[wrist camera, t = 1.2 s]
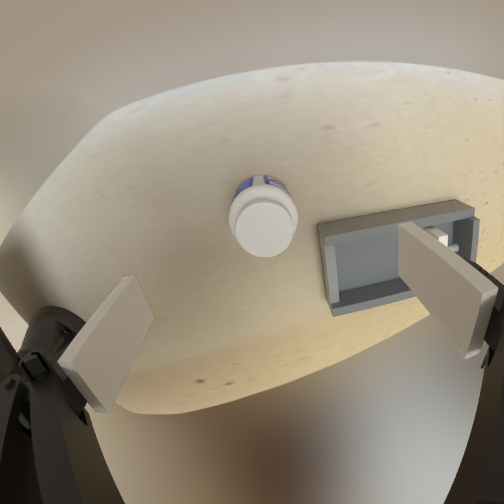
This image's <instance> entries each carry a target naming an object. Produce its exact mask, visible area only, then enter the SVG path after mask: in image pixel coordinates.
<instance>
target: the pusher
mask: <svg viewBox="0 0 504 504" xmlns="http://www.w3.org/2000/svg"><path fill="white" fill-rule="evenodd" d="M421 229H423V230H424V231H426V232H427V233H429V234H430V235H431V236H433V237H434V238H436V239H437V240H438V241H440V242H441V243H443V244H444V245H445V246H447V247H448V248H449V249H451V250H452V251H453V252H458V250H459V246H458V244H457V243H454V244H450V245H448V235H447V234H446V233H444V232H442V231H441V230H439V229H438V228H436V227H435V226H433V225H432V226H427V227H423V228H421Z"/></svg>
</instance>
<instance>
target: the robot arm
mask: <svg viewBox="0 0 504 504" xmlns="http://www.w3.org/2000/svg"><path fill="white" fill-rule="evenodd" d="M398 275H399V276H400V277H401V279H402V280H403V281H404V282H405V283H406V284H407V286H408V287H409V288H410V289H411V290H412V292H413V293H414V294H415V295H416V296H417V298H418V299H419V300H420V301H421V303H422V304H423V305H424V306H425V307H426V309H427V310H428V311H429V313H430V314H431V315H432V316H433V318H434V319H435V320H436V321H437V323H438V324H439V325H440V327H441V328H442V329H443V331H444V332H445V333H446V335H447V336H448V337H449V339H450V340H451V341H452V343H453V344H454V346H455V347H456V348H457V350H458V351H459V353H460V354H461V355H462V357H463V358H464V359H467V358H469V357H471V356H473V355H476V354H478V353H479V352H480V350H481V347H482V344H483V341H484V340H485V341H486V342H487V344H488V345H489V348H488V351H487V354H486V356H485V358H484V361H483V364H482V366H481V368H484V365H485V368H484V376H483V381H482V387H481V392H480V397H479V402H478V406H477V411H476V415H475V419H474V423H473V426H472V430H471V433H470V437H469V440H468V443H467V446H466V449H465V452H464V456H463V458H462V461H461V464H460V466H459V469H458V472H457V474H456V477H455V479H454V482H453V484H452V487H451V489H450V491H449V493H448V495H447V498H446V500H445V502H444V504H504V285H503V284H501V283H500V282H499V281H498V280H497V279H495V278H494V277H493V276H492V275H491V274H489V273H488V272H487V271H486V270H483V268H482V267H480V266H479V265H478V264H477V263H475V262H473V261H471V260H468V259H466V258H464V259H463V258H461V257H460V256H459V255H457V254H456V253H455V252H453V251H452V250H451V249H449V248H448V247H447V246H445V245H444V244H443V243H441V242H440V241H438V240H437V239H436V238H434V237H433V236H431V235H430V234H429V233H427V232H426V231H424V230H423V229H421V228H420V227H418V226H417V225H415V224H414V223H412V222H406V223H400V224H398ZM154 319H155V318H154V316H153V314H152V311H151V309H150V307H149V305H148V302H147V300H146V298H145V295H144V293H143V291H142V288H141V286H140V283H139V281H138V278H137V276H136V274H135V275H129V276H124V277H123V278H122V279H121V280H120V282H119V283H118V284H117V285H116V286H115V288H114V289H113V290H112V291H111V292H110V294H109V295H108V296H107V297H106V298H105V300H104V301H103V302H102V303H101V305H100V306H99V307H98V308H97V310H96V311H95V312H94V313H93V315H92V316H91V317H90V318H89V320H88V321H87V322H86V323H85V322H84V321H82V320H81V319H80V318H78V317H77V316H75V315H74V314H72V313H70V312H69V311H67V310H64V309H62V308H58V307H53V306H49V307H44V308H42V309H41V310H40V311H39V312H38V313H37V314H36V315H35V316H34V317H33V318H32V320H31V322H30V324H29V327H28V329H27V332H26V335H25V337H24V340H23V343H22V346H21V348H20V350H19V351H18V352H16V351H15V349H14V348H13V346H12V345H11V343H10V342H9V340H8V338H7V337H6V335H5V334H4V332H3V331H2V329H1V327H0V504H125V503H124V501H123V499H122V497H121V495H120V493H119V491H118V489H117V486H116V484H115V482H114V480H113V478H112V476H111V473H110V471H109V469H108V466H107V464H106V461H105V459H104V456H103V454H102V451H101V448H100V446H99V443H98V440H97V438H96V435H95V432H94V429H93V426H92V422H91V419H90V416H89V413H88V412H87V411H86V409H85V408H84V407H85V405H86V403H87V402H88V404H90V406H91V407H92V408H93V409H94V411H96V412H103V413H110V410H111V408H112V406H113V404H114V401H115V399H116V397H117V395H118V393H119V390H120V388H121V386H122V384H123V382H124V380H125V378H126V375H127V373H128V371H129V369H130V367H131V365H132V363H133V361H134V359H135V357H136V355H137V353H138V351H139V349H140V346H141V344H142V342H143V340H144V338H145V336H146V334H147V332H148V330H149V329H150V327H151V325H152V323H153V321H154Z"/></svg>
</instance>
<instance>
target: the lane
mask: <svg viewBox="0 0 504 504" xmlns="http://www.w3.org/2000/svg"><path fill="white" fill-rule="evenodd" d="M474 211H475V208H473V207H471V206H469V205H467V204H465V203H463V202H460V201H458V200H450V201H444V202H438V203H432V204H427V205H421V206H415V207H409V208H404V209H398V210H392V211H387V212H381V213H376V214H370V215H364V216H359V217H354V218H348V219H343V220H337V221H332V222H327V223H321V224H317V229H318V236H319V243H320V251H321V259H322V267H323V275H324V284H325V293H326V299H327V302H328V305H329V307H330V310H331V313H332V315H333V317H334V316H338V315H343V314H347V313H352V312H356V311H360V310H365V309H369V308H373V307H377V306H381V305H385V304H389V303H392V302H396V301H400V300H404V299H407V298H411V297H414V296H416V295H415V294H414V293H413V292H412V290H411V289H410V288H409V287H408V286H407V284H406V283H405V282H404V281H403V280H402V279H401V277H400V276H399V275H398V224H400V223H406V222H412V223H414V224H415V225H417V226H418V227H420V228H423V227H427V226H432V225H433V226H435V227H436V228H438V229H439V230H441V231H442V232H444V233H446V234H447V235H448V245H450V244H454V243H457V244H458V246H459V250H458V252H455V253H456V254H457V255H459V256H460V257H461V258H463V259H464V258H466V259H468V260H471V261H473V262H475V263H476V256H477V247H478V235H479V220H480V219H478V218H476V217H474Z"/></svg>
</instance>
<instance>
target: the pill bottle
mask: <svg viewBox="0 0 504 504" xmlns="http://www.w3.org/2000/svg"><path fill="white" fill-rule="evenodd" d="M228 221H229V227H230V231H231V233H232V235H233V237H234V238H235V239H236V241H237V242H238V243H239V244H240V246H241V247H242V248H243V249H244V250H245V251H246V252H248V253H249V254H251V255H253V256H256V257H261V258H267V257H273V256H276V255H278V254H280V253H281V252H283V251H284V250H285V249H286V248H287V247H288V246H289V244H290V242H291V240H292V238H293V236H294V234H295V232H296V229H297V226H298V211H297V207H296V205H295V203H294V201H293V199H292V197H291V196H290V194H289V192H288V190H287V189H286V187H285V186H284V185H283V184H282V183H281V182H280V181H279V180H277V179H275V178H273V177H271V176H266V175H257V176H253V177H250V178H248V179H247V180H245V181H244V182H243V183H242V184H241V185H240V186H239V187H238V189H237V191H236V193H235V196H234V198H233V201H232V204H231V207H230V210H229V216H228Z"/></svg>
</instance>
